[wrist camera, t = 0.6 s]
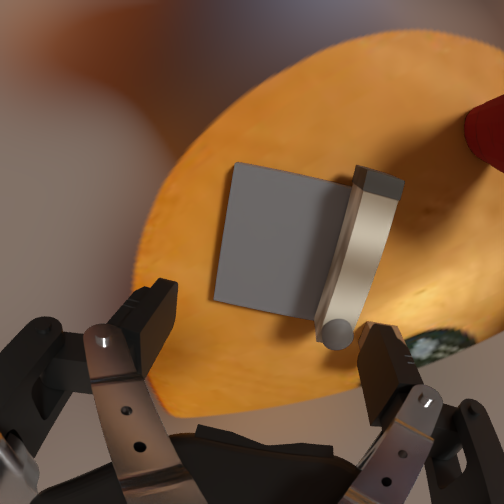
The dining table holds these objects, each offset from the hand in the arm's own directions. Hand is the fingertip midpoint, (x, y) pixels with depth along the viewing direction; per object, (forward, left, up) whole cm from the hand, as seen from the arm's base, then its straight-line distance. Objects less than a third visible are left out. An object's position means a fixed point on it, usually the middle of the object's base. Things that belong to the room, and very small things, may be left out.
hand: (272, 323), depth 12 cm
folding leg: (-7, +2, -17) cm, 19 cm away
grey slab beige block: (-6, +5, -19) cm, 20 cm away
